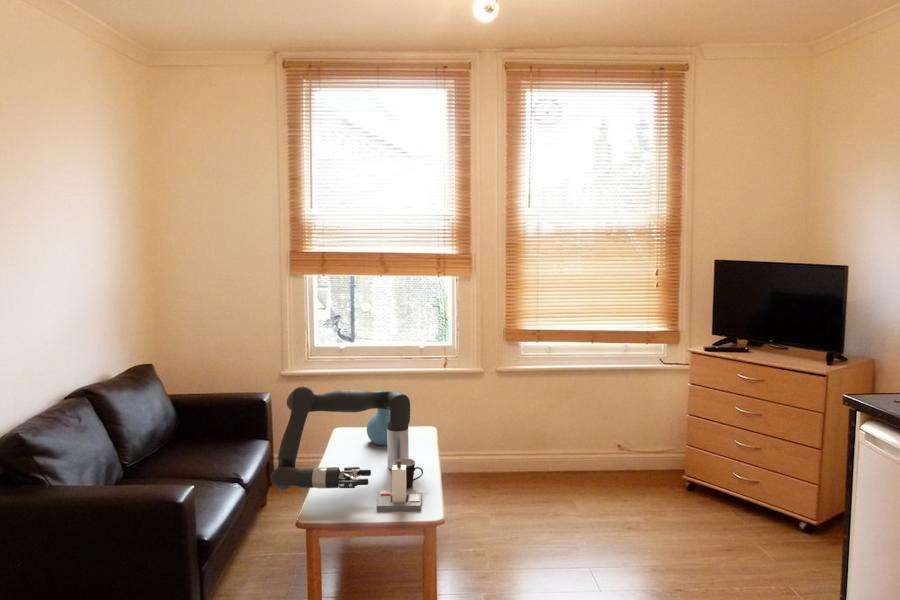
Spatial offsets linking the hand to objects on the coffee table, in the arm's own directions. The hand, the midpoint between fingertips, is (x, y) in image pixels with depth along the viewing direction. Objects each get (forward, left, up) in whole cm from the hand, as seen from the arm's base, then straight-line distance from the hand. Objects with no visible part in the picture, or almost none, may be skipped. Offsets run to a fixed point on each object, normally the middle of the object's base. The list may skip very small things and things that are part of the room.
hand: (369, 477), depth 229 cm
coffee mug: (-15, +13, -11) cm, 23 cm away
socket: (0, +11, -10) cm, 15 cm away
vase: (-69, -1, -11) cm, 70 cm away
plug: (0, +11, -10) cm, 15 cm away
